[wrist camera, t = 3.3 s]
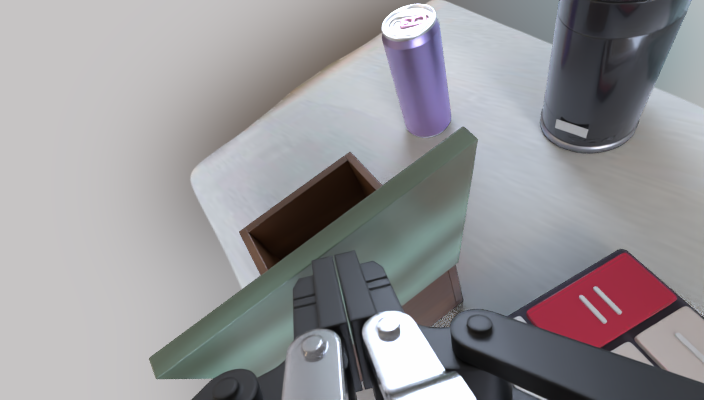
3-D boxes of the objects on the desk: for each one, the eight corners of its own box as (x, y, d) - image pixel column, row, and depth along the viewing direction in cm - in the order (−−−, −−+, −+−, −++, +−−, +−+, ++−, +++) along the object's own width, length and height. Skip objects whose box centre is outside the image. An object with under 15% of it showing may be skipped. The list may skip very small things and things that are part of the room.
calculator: (771, 366, 24) (580, 489, 24) (734, 378, 28) (567, 485, 27) (625, 241, 31) (472, 333, 30) (610, 263, 35) (472, 346, 34)
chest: (283, 269, 44) (238, 231, 37) (374, 201, 46) (350, 151, 38) (350, 390, 35) (310, 373, 27) (463, 300, 36) (455, 260, 28)
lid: (147, 358, 12) (155, 379, 12) (463, 125, 14) (478, 138, 13) (304, 367, 27) (310, 377, 27) (451, 254, 28) (458, 262, 28)
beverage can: (451, 138, 47) (436, 33, 35) (404, 142, 49) (376, 44, 37) (452, 104, 50) (439, -3, 38) (408, 109, 52) (382, 8, 40)
